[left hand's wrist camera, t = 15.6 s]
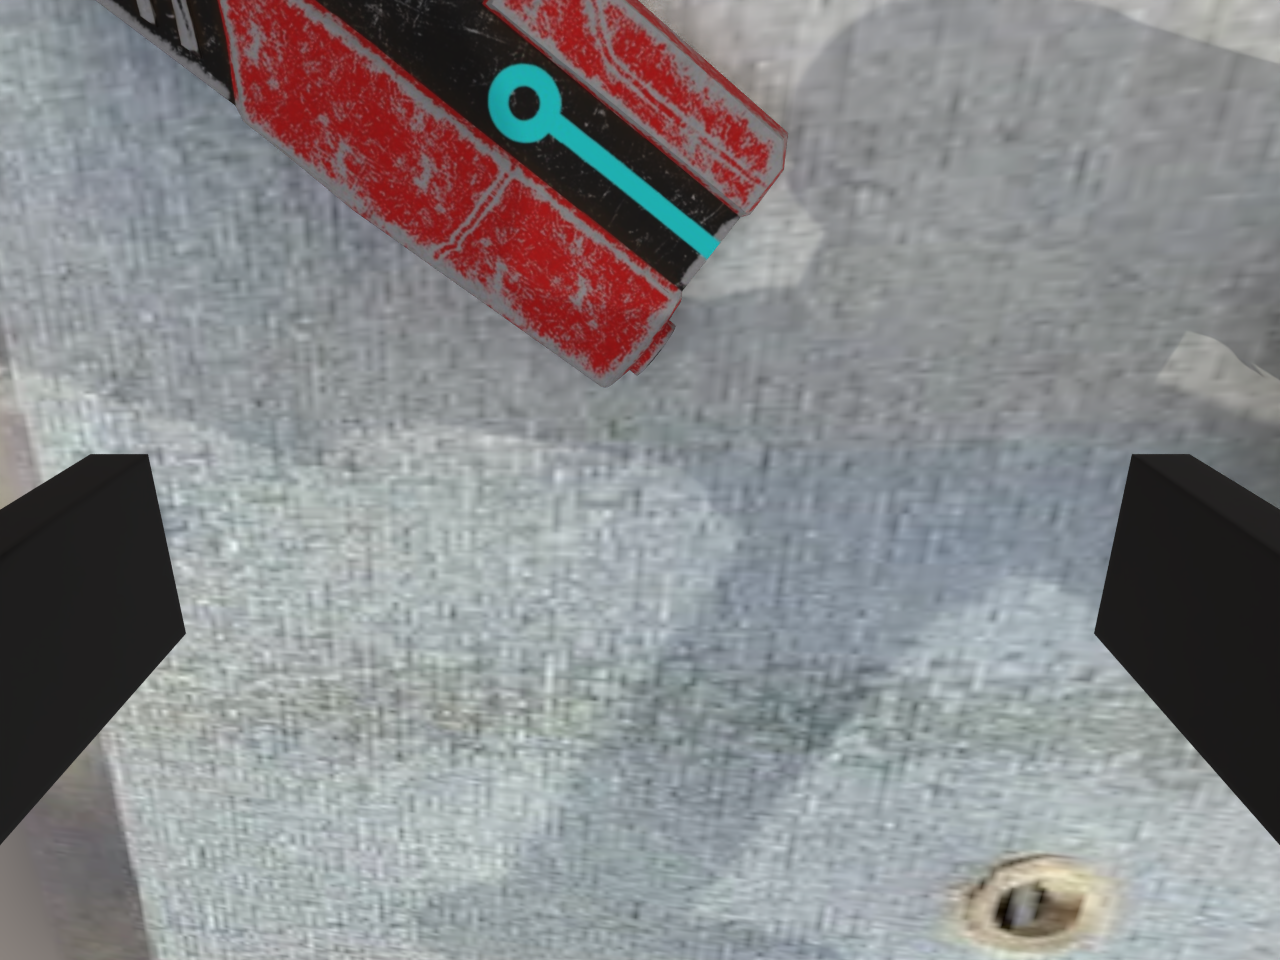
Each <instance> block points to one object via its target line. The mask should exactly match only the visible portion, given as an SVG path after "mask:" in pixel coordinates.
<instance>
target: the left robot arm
mask: <svg viewBox="0 0 1280 960" xmlns="http://www.w3.org/2000/svg"><path fill="white" fill-rule="evenodd" d="M185 634H186V632H185V627H184V622H183V618H182V613H181V608H180V603H179V599H178V594H177V589H176V584H175V580H174V575H173V570H172V566H171V561H170V556H169V551H168V547H167V542H166V537H165V533H164V528H163V523H162V518H161V514H160V509H159V504H158V499H157V495H156V490H155V485H154V481H153V476H152V471H151V466H150V462H149V457H148V454H90V455H88V456H87V457H85V458H84V459H82V460H80V461H79V462H77V463H75V464H74V465H72V466H71V467H69V468H67V469H66V470H64V471H62V472H61V473H59V474H58V475H56V476H54V477H53V478H51V479H49V480H48V481H46V482H45V483H43V484H41V485H40V486H38V487H36V488H35V489H33V490H32V491H30V492H28V493H27V494H25V495H23V496H22V497H20V498H19V499H17V500H15V501H14V502H12V503H10V504H9V505H7V506H6V507H4V508H2V509H1V510H0V845H1V843H2V842H3V841H4V840H5V839H6V838H7V837H8V835H9V834H10V833H11V832H12V831H13V830H14V829H15V828H16V826H17V825H18V824H19V823H20V822H21V821H22V820H23V818H24V817H25V816H26V815H27V814H28V813H29V812H30V810H31V809H32V808H33V807H34V806H35V805H36V804H37V802H38V801H39V800H40V799H41V798H42V797H43V796H44V795H45V793H46V792H47V791H48V790H49V789H50V788H51V787H52V785H53V784H54V783H55V782H56V781H57V780H58V779H59V777H60V776H61V775H62V774H63V773H64V772H65V771H66V769H67V768H68V767H69V766H70V765H71V764H72V763H73V761H74V760H75V759H76V758H77V757H78V756H79V755H80V754H81V752H82V751H83V750H84V749H85V748H86V747H87V746H88V744H89V743H90V742H91V741H92V740H93V739H94V738H95V736H96V735H97V734H98V733H99V732H100V731H101V730H102V728H103V727H104V726H105V725H106V724H107V723H108V722H109V720H110V719H111V718H112V717H113V716H114V715H115V714H116V713H117V711H118V710H119V709H120V708H121V707H122V706H123V705H124V703H125V702H126V701H127V700H128V699H129V698H130V697H131V695H132V694H133V693H134V692H135V691H136V690H137V689H138V687H139V686H140V685H141V684H142V683H143V682H144V681H145V679H146V678H147V677H148V676H149V675H150V674H151V673H152V672H153V670H154V669H155V668H156V667H157V666H158V665H159V664H160V662H161V661H162V660H163V659H164V658H165V657H166V656H167V654H168V653H169V652H170V651H171V650H172V649H173V648H174V646H175V645H176V644H177V643H178V642H179V641H180V640H181V639H182V637H183V636H184V635H185ZM1094 634H1095V635H1096V636H1097V637H1098V639H1099V640H1100V641H1101V642H1102V643H1103V644H1104V645H1105V646H1106V648H1107V649H1108V650H1109V651H1110V652H1111V653H1112V654H1113V656H1114V657H1115V658H1116V659H1117V660H1118V661H1119V662H1120V664H1121V665H1122V666H1123V667H1124V668H1125V669H1126V670H1127V672H1128V673H1129V674H1130V675H1131V676H1132V677H1133V678H1134V679H1135V681H1136V682H1137V683H1138V684H1139V685H1140V686H1141V687H1142V689H1143V690H1144V691H1145V692H1146V693H1147V694H1148V695H1149V697H1150V698H1151V699H1152V700H1153V701H1154V702H1155V703H1156V705H1157V706H1158V707H1159V708H1160V709H1161V710H1162V711H1163V713H1164V714H1165V715H1166V716H1167V717H1168V718H1169V719H1170V720H1171V722H1172V723H1173V724H1174V725H1175V726H1176V727H1177V728H1178V730H1179V731H1180V732H1181V733H1182V734H1183V735H1184V736H1185V738H1186V739H1187V740H1188V741H1189V742H1190V743H1191V744H1192V746H1193V747H1194V748H1195V749H1196V750H1197V751H1198V752H1199V754H1200V755H1201V756H1202V757H1203V758H1204V759H1205V760H1206V761H1207V763H1208V764H1209V765H1210V766H1211V767H1212V768H1213V769H1214V771H1215V772H1216V773H1217V774H1218V775H1219V776H1220V777H1221V779H1222V780H1223V781H1224V782H1225V783H1226V784H1227V785H1228V787H1229V788H1230V789H1231V790H1232V791H1233V792H1234V793H1235V795H1236V796H1237V797H1238V798H1239V799H1240V800H1241V801H1242V802H1243V804H1244V805H1245V806H1246V807H1247V808H1248V809H1249V810H1250V812H1251V813H1252V814H1253V815H1254V816H1255V817H1256V818H1257V820H1258V821H1259V822H1260V823H1261V824H1262V825H1263V826H1264V828H1265V829H1266V830H1267V831H1268V832H1269V833H1270V834H1271V836H1272V837H1273V838H1274V839H1275V840H1276V841H1277V842H1278V843H1279V845H1280V510H1279V509H1278V508H1276V507H1274V506H1273V505H1271V504H1270V503H1268V502H1266V501H1265V500H1263V499H1261V498H1260V497H1258V496H1257V495H1255V494H1253V493H1252V492H1250V491H1248V490H1247V489H1245V488H1244V487H1242V486H1240V485H1239V484H1237V483H1235V482H1234V481H1232V480H1231V479H1229V478H1227V477H1226V476H1224V475H1222V474H1221V473H1219V472H1218V471H1216V470H1214V469H1213V468H1211V467H1209V466H1208V465H1206V464H1205V463H1203V462H1201V461H1200V460H1198V459H1196V458H1195V457H1193V456H1192V455H1190V454H1132V457H1131V462H1130V466H1129V471H1128V476H1127V481H1126V485H1125V490H1124V495H1123V499H1122V504H1121V509H1120V514H1119V518H1118V523H1117V528H1116V533H1115V537H1114V542H1113V547H1112V551H1111V556H1110V561H1109V566H1108V570H1107V575H1106V580H1105V584H1104V589H1103V594H1102V599H1101V603H1100V608H1099V613H1098V617H1097V622H1096V627H1095V632H1094Z"/></svg>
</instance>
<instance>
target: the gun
mask: <svg viewBox="0 0 1280 960" xmlns="http://www.w3.org/2000/svg"><path fill="white" fill-rule="evenodd" d="M96 1H97V2H98V3H100V4H101V5H102V6H104V7H105V8H106V9H108V10H109V11H110V12H112V13H113V14H114V15H116V16H117V17H118V18H120V19H121V20H122V21H124V22H125V23H126V24H128V25H129V26H130V27H132V28H133V29H134V30H136V31H137V32H138V33H140V34H141V35H142V36H144V37H145V38H146V39H148V40H149V41H150V42H152V43H153V44H154V45H156V46H157V47H158V48H160V49H161V50H162V51H164V52H165V53H166V54H168V55H169V56H170V57H172V58H173V59H174V60H176V61H177V62H178V63H180V64H181V65H182V66H184V67H185V68H186V69H188V70H189V71H190V72H192V73H193V74H194V75H196V76H197V77H198V78H200V79H201V80H202V81H204V82H205V83H206V84H208V85H209V86H210V87H212V88H213V89H214V90H216V91H217V92H218V93H219V94H221V95H222V96H223V97H225V98H226V99H227V100H229V101H230V102H231V103H233V104H234V105H235V106H236V107H237V109H238V111H239V113H240V115H241V117H242V119H243V121H244V122H245V123H246V124H247V125H249V126H250V127H251V128H253V129H254V130H255V131H256V132H258V133H259V134H260V135H261V136H263V137H264V138H265V139H267V140H268V141H269V142H270V143H272V144H273V145H274V146H276V147H277V148H278V149H279V150H281V151H282V152H283V153H284V154H286V155H287V156H288V157H289V158H291V159H292V160H293V161H294V162H295V163H297V164H298V165H299V166H300V167H302V168H303V169H304V170H305V171H306V172H308V173H309V174H310V175H311V176H312V177H314V178H315V179H316V180H317V181H319V182H320V183H321V184H322V185H323V186H325V187H326V188H327V189H328V190H329V191H331V192H332V193H333V194H334V195H335V196H337V197H338V198H339V199H340V200H341V201H343V202H344V203H345V204H346V205H347V206H349V207H350V208H351V209H352V210H354V211H355V212H357V213H358V214H359V215H361V216H362V217H364V218H365V219H366V220H368V221H369V222H371V223H372V224H373V225H375V226H376V227H378V228H379V229H380V230H382V231H383V232H385V233H386V234H387V235H389V236H390V237H392V238H393V239H395V240H396V241H397V242H399V243H400V244H402V245H403V246H404V247H406V248H407V249H409V250H410V251H411V252H413V253H414V254H416V255H417V256H418V257H420V258H421V259H423V260H424V261H425V262H427V263H428V264H430V265H431V266H433V267H434V268H435V269H437V270H438V271H440V272H441V273H442V274H444V275H445V276H447V277H448V278H449V279H451V280H452V281H454V282H455V283H456V284H458V285H459V286H461V287H462V288H463V289H465V290H466V291H468V292H469V293H471V294H472V295H473V296H475V297H476V298H478V299H479V300H480V301H482V302H483V303H485V304H486V305H487V306H489V307H490V308H492V309H493V310H494V311H496V312H497V313H499V314H500V315H502V316H503V317H504V318H506V319H507V320H509V321H510V322H511V323H513V324H514V325H516V326H517V327H518V328H520V329H521V330H523V331H524V332H525V333H527V334H528V335H530V336H531V337H532V338H534V339H535V340H537V341H538V342H540V343H541V344H542V345H544V346H545V347H547V348H548V349H549V350H551V351H552V352H554V353H555V354H556V355H558V356H559V357H561V358H562V359H563V360H565V361H566V362H568V363H569V364H570V365H572V366H573V367H575V368H576V369H578V370H579V371H580V372H582V373H583V374H585V375H586V376H587V377H589V378H590V379H592V380H593V381H594V382H596V383H597V384H599V385H600V386H602V387H609V386H610V385H612V384H613V383H614V382H616V381H617V380H618V379H619V378H620V377H622V376H623V375H624V374H625V373H626V372H628V371H629V370H631V371H632V372H633V373H634V374H635V375H638V374H640V373H641V372H642V371H643V370H644V369H645V368H646V367H647V366H648V365H649V364H650V363H651V362H652V361H653V359H654V358H655V357H656V356H657V354H658V353H659V352H660V351H661V349H662V348H663V347H664V345H665V344H666V342H667V341H668V339H669V338H670V336H671V335H672V333H673V331H674V329H675V325H674V324H673V323H672V322H671V321H669V319H670V318H671V316H672V314H673V313H674V311H675V310H676V308H677V307H678V305H679V304H680V302H681V298H682V291H683V289H684V288H685V287H686V285H687V284H688V283H689V282H690V280H691V279H692V278H693V277H694V275H695V274H696V273H697V272H698V270H699V269H700V268H701V266H702V265H703V264H704V263H705V261H706V260H707V259H708V258H709V256H710V255H711V254H712V253H713V251H714V250H715V249H716V247H717V246H718V245H719V244H720V242H721V241H722V240H723V239H724V237H725V236H726V235H727V233H728V232H729V231H730V230H731V228H732V227H733V226H734V225H735V223H736V222H737V221H738V220H739V218H740V217H742V216H746V215H750V214H751V213H752V211H753V210H754V209H755V207H756V206H757V205H758V203H759V202H760V201H761V199H762V198H763V197H764V195H765V194H766V193H767V191H768V190H769V189H770V187H771V186H772V185H773V183H774V182H775V181H776V179H777V178H778V177H779V175H780V174H781V173H782V172H783V170H784V164H785V155H786V146H787V138H788V132H786V131H785V130H784V129H783V128H782V127H781V126H780V125H778V124H777V123H776V122H775V121H774V120H773V119H772V118H771V117H769V116H768V115H767V114H766V113H765V112H764V111H763V110H762V109H760V108H759V107H758V106H757V105H756V104H755V103H754V102H752V101H751V100H750V99H749V98H748V97H747V96H746V95H745V94H743V93H742V92H741V91H740V90H739V89H738V88H737V87H735V86H734V85H733V84H732V83H731V82H730V81H729V80H728V79H726V78H725V77H724V76H723V75H722V74H721V73H720V72H718V71H717V70H716V69H715V68H714V67H713V66H712V65H711V64H709V63H708V62H707V61H706V60H705V59H704V58H703V57H701V56H700V55H699V54H698V53H697V52H696V51H695V50H694V49H692V48H691V47H690V46H689V45H688V44H687V43H686V42H684V41H683V40H682V39H681V38H680V37H679V36H678V35H677V34H675V33H674V32H673V31H672V30H671V29H670V28H669V27H667V26H666V25H665V24H664V23H663V22H662V21H661V20H660V19H658V18H657V17H656V16H655V15H654V14H653V13H652V12H650V11H649V10H648V9H647V8H646V7H645V6H644V5H643V4H641V3H640V2H639V1H638V0H96Z"/></svg>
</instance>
